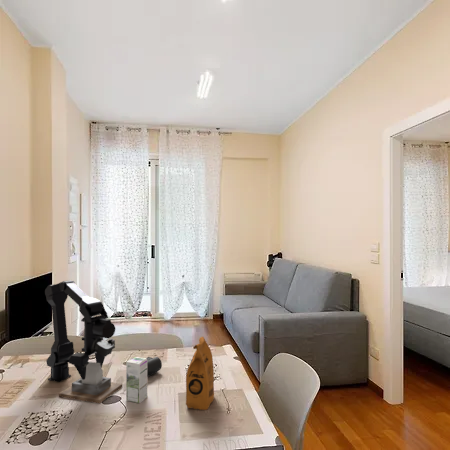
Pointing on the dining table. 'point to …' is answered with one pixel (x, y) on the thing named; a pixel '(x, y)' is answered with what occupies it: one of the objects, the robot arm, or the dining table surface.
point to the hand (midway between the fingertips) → (91, 374)
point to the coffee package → (200, 378)
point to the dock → (91, 390)
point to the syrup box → (136, 379)
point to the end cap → (153, 365)
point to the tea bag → (93, 374)
